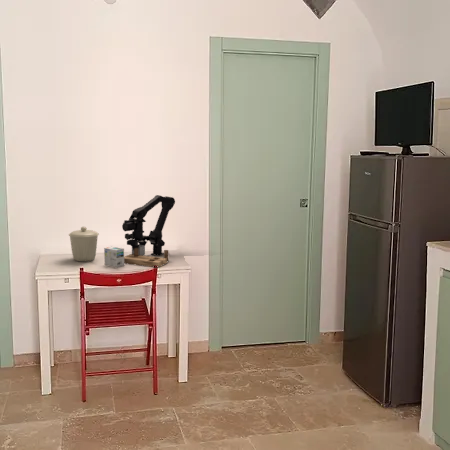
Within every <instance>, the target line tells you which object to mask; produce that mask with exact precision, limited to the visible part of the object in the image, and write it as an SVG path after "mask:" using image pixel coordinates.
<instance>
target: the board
mask: <svg viewBox="0 0 450 450" xmlns="http://www.w3.org/2000/svg"><path fill="white" fill-rule="evenodd" d="M127 263H128V264H129V265H134V264H136V266H142V265H143V266H144V267H151V268H154V267H153V266H154V265H157V266H158V268H160V267H162V266H161V265H163V264H165V265H167V264H168V262H167V258H164V257H158V256H151V255H150V256H149V255H138V248H134V254H132V253H130V254H128V255H124V264H127ZM166 263H167V264H166ZM159 266H160V267H159ZM163 266H164V265H163Z"/></svg>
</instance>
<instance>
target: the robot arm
mask: <svg viewBox="0 0 450 450" xmlns="http://www.w3.org/2000/svg"><path fill="white" fill-rule="evenodd" d="M159 203H161V204H160V205H161V210H160V213H159V217H158V218H157V221H156V225H155V227H154V229H153V230H150V231H149V234H148V235H144V234H143V233H145V230H144V223H145V222H147V221H146V220H145V219H144V218H145V217H146V216H147V213H148V212H149V211H150V210H152V209H153V208H154V207H156V206H157V205H158V204H159ZM175 203H176V200H175V197H173V196H172V197H171V196H162V195H157V194H156V195H155V196H154V197H152V198H151V199H150V200H149V201H147V203H145V204H144V205H142V206H140V207H137V208H135V209H133V211H131V212H132V213H131V215H130V217H129V218H128V220H124V221H123V223H122V230H123V231H124V232H127V233H125V234H124V239H125V240H126V245H128V246H131V248H132V247H133V250H134V248H139V245H145V246H146V245H147V243H148V242H149V243H150V245H152V253H150V256H151V255H152V256H162V255H164V252H163V247H164V246H165V244H166V242H165V241H164V240H163V229H164V227H165V224H166V221H167V217H168V215H169V212H170V211H171V210H172V209H173V208H174V206H175ZM130 231H131V233H128V232H130Z"/></svg>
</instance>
